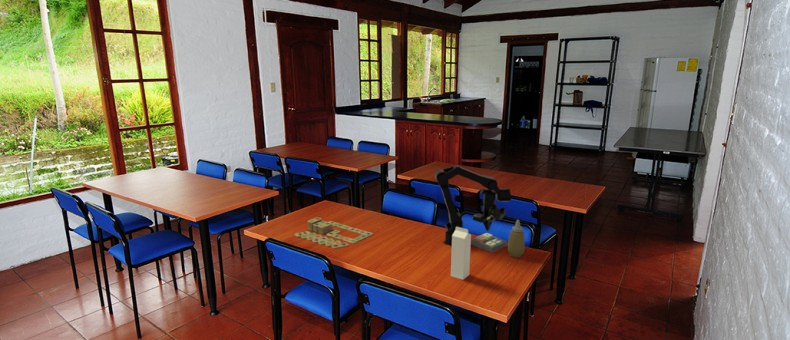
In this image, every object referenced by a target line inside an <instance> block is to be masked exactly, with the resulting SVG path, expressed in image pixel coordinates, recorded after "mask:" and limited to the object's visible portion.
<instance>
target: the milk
mask: <svg viewBox="0 0 790 340" xmlns="http://www.w3.org/2000/svg"><path fill="white" fill-rule="evenodd" d="M471 240H472V234H471V233H469V229H467V228H463V227H462V228H460V227H456V230H455V232H454V233H453V235H452V246H451V255H450V257H451V260H450V261H451V262H450V266H451V267H450V277H452V278H455V279H458V280H462V281H464V280H465V279H466V278H467V277H469V276H470V269H471V268H470V266H471V265H470V264H471V246H472V245H471Z"/></svg>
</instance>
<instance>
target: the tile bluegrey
mask: <svg viewBox="0 0 790 340" xmlns="http://www.w3.org/2000/svg"><path fill="white" fill-rule="evenodd" d="M492 242H495V243H498V244H499V243H501V242H503V241H501V240H499V239H494V240H492Z"/></svg>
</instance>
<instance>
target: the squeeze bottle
mask: <svg viewBox="0 0 790 340" xmlns="http://www.w3.org/2000/svg"><path fill="white" fill-rule="evenodd" d="M520 222H521V221H520V220H519V219H517V220H515V224H514V225H513V226H512V227H511V228H512V229H511V230H510V231H509V236H508V241H507V246H506V247H507V251H508V255H509V256H510V257H512V258H516V259H517V258H521V257H522V256H523V254H524V252H525V248H526V247H525V246H526V245H525V232H524V231H523V227H522V226H521V223H520Z"/></svg>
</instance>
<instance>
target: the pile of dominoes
mask: <svg viewBox="0 0 790 340" xmlns="http://www.w3.org/2000/svg"><path fill="white" fill-rule="evenodd" d="M333 227H334V228H338V229H341V230H345V231H349V232H352V233H354V234H355V233H356V234H358V235H359V236H357V237H354V238H351V237H349V236H348V237H346V236H344V235H341V234H340V233H341V231H340V230H337V229H334V230H333ZM317 233H318V234H317ZM322 235H325V236H322ZM373 235H374V233H373V232H370V231H366V230H363V229H359V228H357V227H356V228H355V227H351V226H349V225H345V224H341V223H339V222H335V221H332V220H331V221H330V220H329V221H325V220H323V219H322V217H314V218H312V219H309V220H307V231H303V232H296V233H295V234H294V236H295V237H296V238H301V239H302V240H306V241H309V242H312V243H314V244H318V245H320V246H323V245H325V246H326V247H331V248H332V249H334V250H335V249H337V250H338V249H340V248H345V247H348V246H349V244H351V245H352V244H354V245H355V244H357V243H359V242H361V241H363V240H364V239H367V238H369V237H372V236H373ZM328 237H329V238H328ZM334 239H336V240H334ZM341 241H343V242H341ZM348 243H349V244H348Z"/></svg>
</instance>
